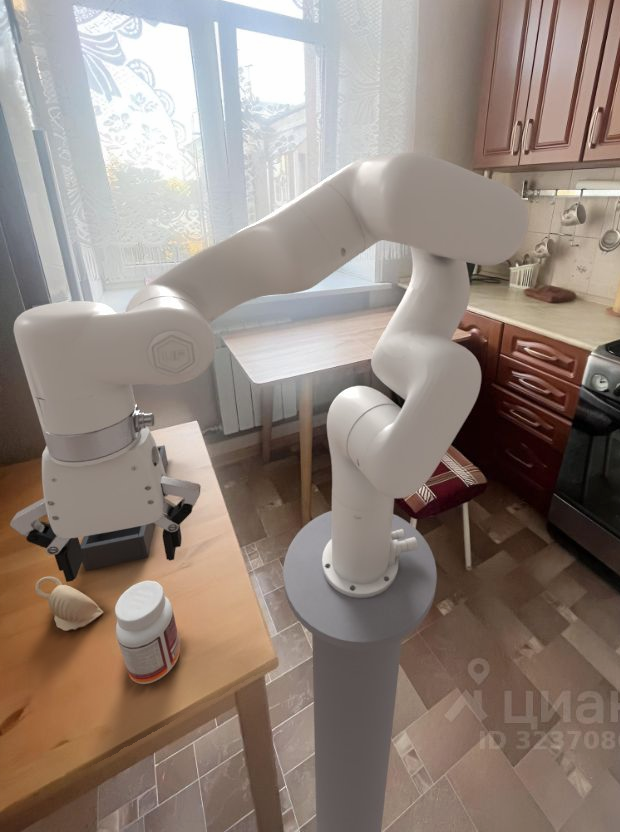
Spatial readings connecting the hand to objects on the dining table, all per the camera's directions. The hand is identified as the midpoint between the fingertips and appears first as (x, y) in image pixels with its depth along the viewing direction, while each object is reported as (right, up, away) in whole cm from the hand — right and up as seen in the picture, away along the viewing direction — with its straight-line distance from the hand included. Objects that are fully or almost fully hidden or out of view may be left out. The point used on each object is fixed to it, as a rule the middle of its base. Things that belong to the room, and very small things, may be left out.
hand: (125, 559), depth 44 cm
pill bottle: (0, -17, +7) cm, 18 cm away
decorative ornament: (-15, -14, +12) cm, 24 cm away
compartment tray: (-17, -6, +31) cm, 36 cm away
